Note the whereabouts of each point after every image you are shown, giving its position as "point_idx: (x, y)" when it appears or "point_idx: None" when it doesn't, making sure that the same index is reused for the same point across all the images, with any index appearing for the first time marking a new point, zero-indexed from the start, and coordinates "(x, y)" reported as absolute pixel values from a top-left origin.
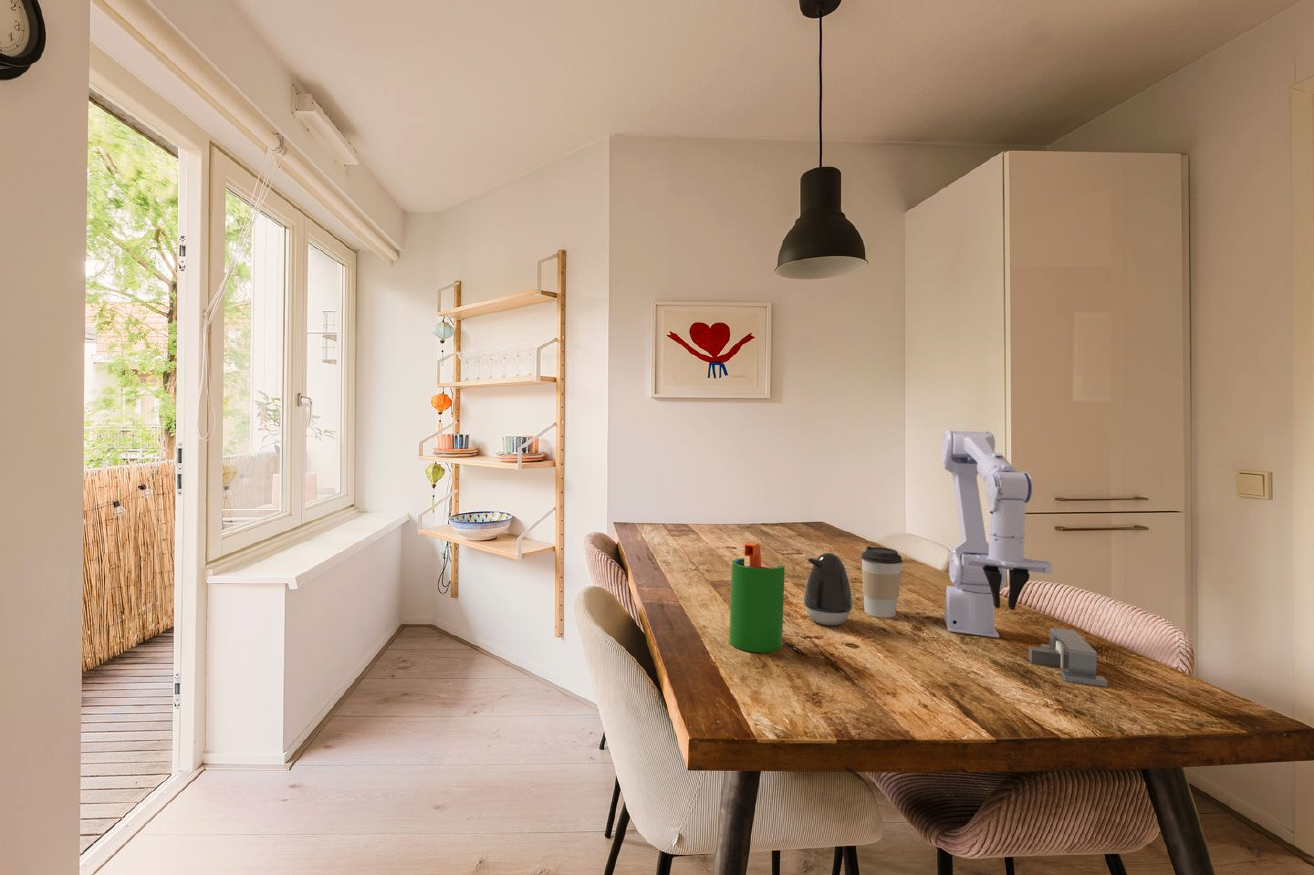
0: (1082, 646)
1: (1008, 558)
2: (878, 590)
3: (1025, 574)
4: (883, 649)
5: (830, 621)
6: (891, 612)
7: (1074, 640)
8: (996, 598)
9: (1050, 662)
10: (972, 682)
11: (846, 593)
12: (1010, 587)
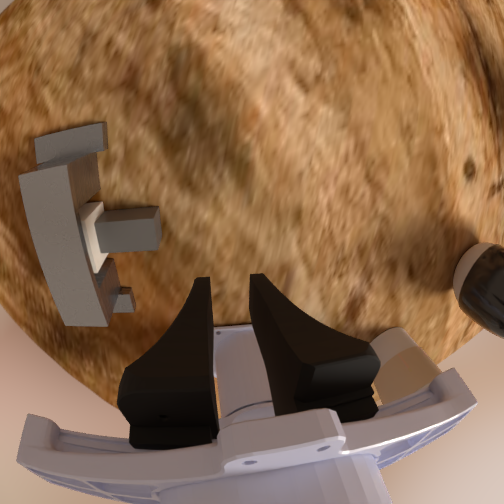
0: (40, 208)
1: (295, 495)
2: (421, 356)
3: (140, 397)
4: (438, 165)
5: (479, 243)
6: (380, 342)
7: (56, 251)
8: (273, 289)
9: (119, 211)
10: (318, 29)
11: (495, 281)
12: (212, 368)
